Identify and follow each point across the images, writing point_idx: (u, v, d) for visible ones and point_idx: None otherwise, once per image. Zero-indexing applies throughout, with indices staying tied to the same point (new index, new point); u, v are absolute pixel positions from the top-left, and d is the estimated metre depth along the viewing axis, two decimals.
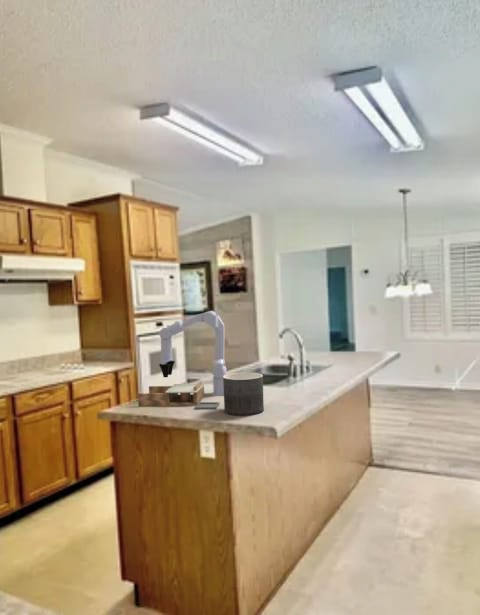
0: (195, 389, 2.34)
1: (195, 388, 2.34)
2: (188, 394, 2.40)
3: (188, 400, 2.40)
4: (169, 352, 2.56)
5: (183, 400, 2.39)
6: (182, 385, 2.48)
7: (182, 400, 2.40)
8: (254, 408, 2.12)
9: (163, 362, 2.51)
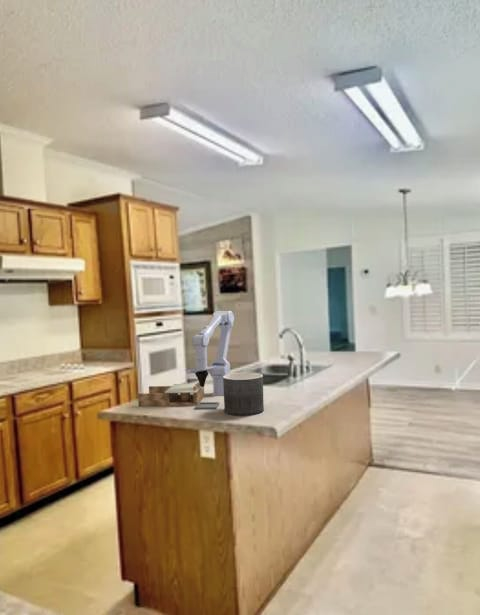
0: (195, 389, 2.34)
1: (195, 388, 2.34)
2: (188, 394, 2.40)
3: (188, 400, 2.40)
4: (199, 361, 2.38)
5: (183, 400, 2.39)
6: (182, 385, 2.48)
7: (182, 400, 2.40)
8: (254, 408, 2.12)
9: (188, 371, 2.37)
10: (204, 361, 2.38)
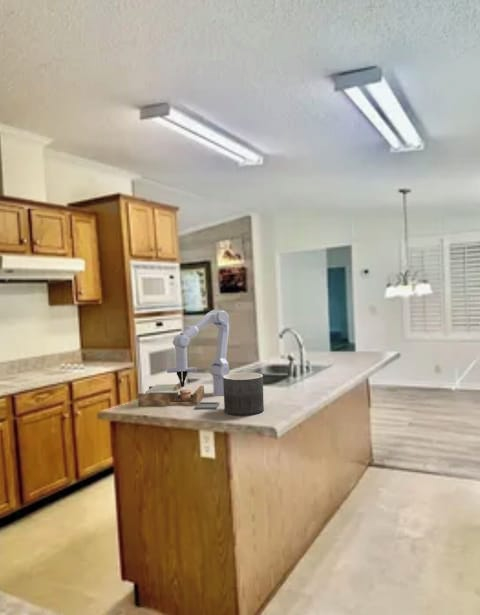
0: (175, 389, 2.35)
1: (175, 388, 2.35)
2: (188, 394, 2.40)
3: (188, 400, 2.40)
4: (177, 361, 2.39)
5: (183, 400, 2.39)
6: (163, 385, 2.49)
7: (182, 400, 2.40)
8: (254, 408, 2.12)
9: (167, 370, 2.40)
10: (182, 361, 2.39)
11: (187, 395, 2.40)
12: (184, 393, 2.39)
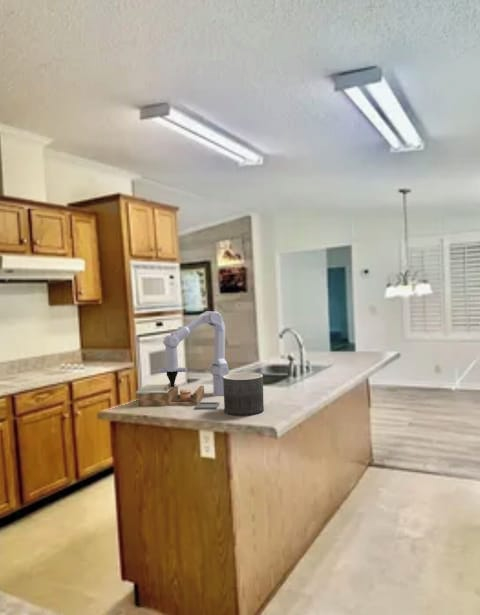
0: (165, 389, 2.36)
1: (165, 388, 2.35)
2: (188, 394, 2.40)
3: (188, 400, 2.40)
4: (167, 362, 2.40)
5: (183, 400, 2.39)
6: (154, 385, 2.49)
7: (182, 400, 2.40)
8: (254, 408, 2.12)
9: (157, 370, 2.42)
10: (171, 362, 2.39)
11: (187, 395, 2.40)
12: (184, 393, 2.39)
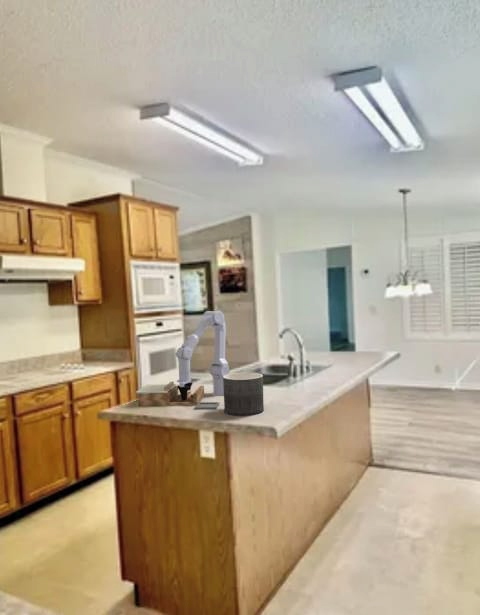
0: (165, 389, 2.36)
1: (165, 388, 2.35)
2: (188, 394, 2.40)
3: (188, 400, 2.40)
4: (187, 373, 2.39)
5: (183, 400, 2.39)
6: (154, 385, 2.49)
7: (182, 400, 2.40)
8: (254, 408, 2.12)
9: (181, 385, 2.34)
10: (190, 373, 2.41)
11: (187, 395, 2.40)
12: None
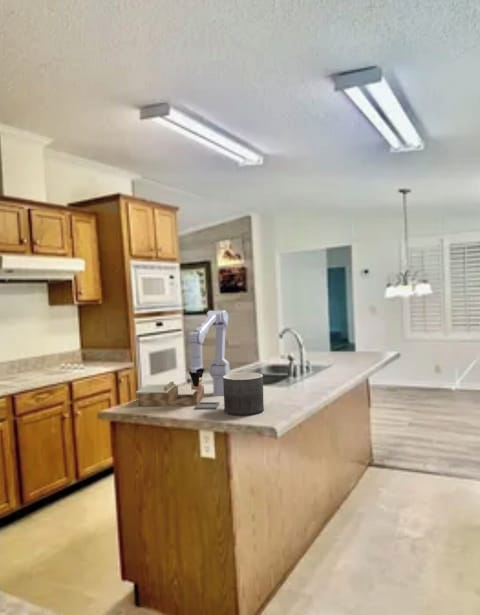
0: (165, 389, 2.36)
1: (165, 388, 2.35)
2: (199, 382, 2.32)
3: (199, 388, 2.32)
4: (199, 359, 2.31)
5: (194, 388, 2.32)
6: (154, 385, 2.49)
7: (193, 388, 2.32)
8: (254, 408, 2.12)
9: (193, 370, 2.26)
10: None
11: None
12: None
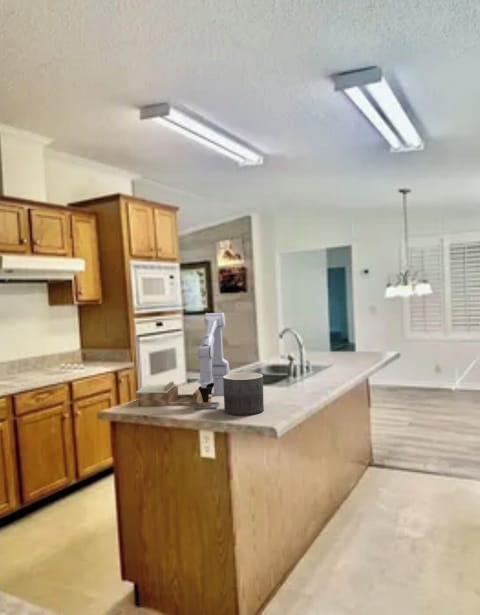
0: (165, 389, 2.36)
1: (165, 388, 2.35)
2: (208, 399, 2.27)
3: (208, 405, 2.27)
4: (209, 374, 2.26)
5: (203, 405, 2.26)
6: (154, 385, 2.49)
7: (202, 405, 2.27)
8: (254, 408, 2.12)
9: (203, 385, 2.21)
10: (212, 373, 2.28)
11: None
12: None
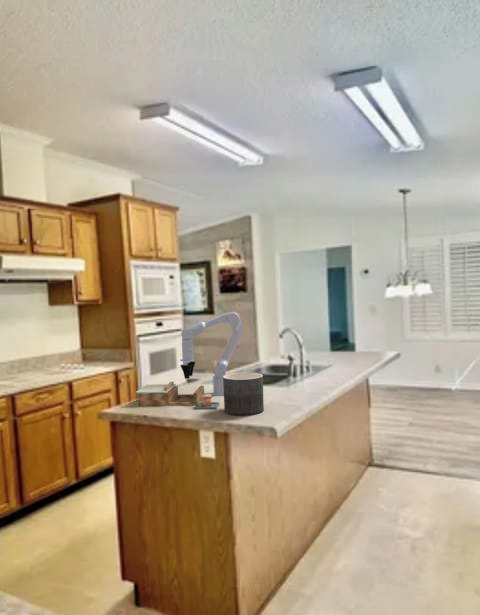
0: (165, 389, 2.36)
1: (165, 388, 2.35)
2: (208, 399, 2.27)
3: (208, 405, 2.27)
4: (190, 353, 2.52)
5: (203, 405, 2.26)
6: (154, 385, 2.49)
7: (202, 405, 2.27)
8: (254, 408, 2.12)
9: (185, 363, 2.47)
10: None
11: (207, 400, 2.26)
12: (204, 398, 2.26)
